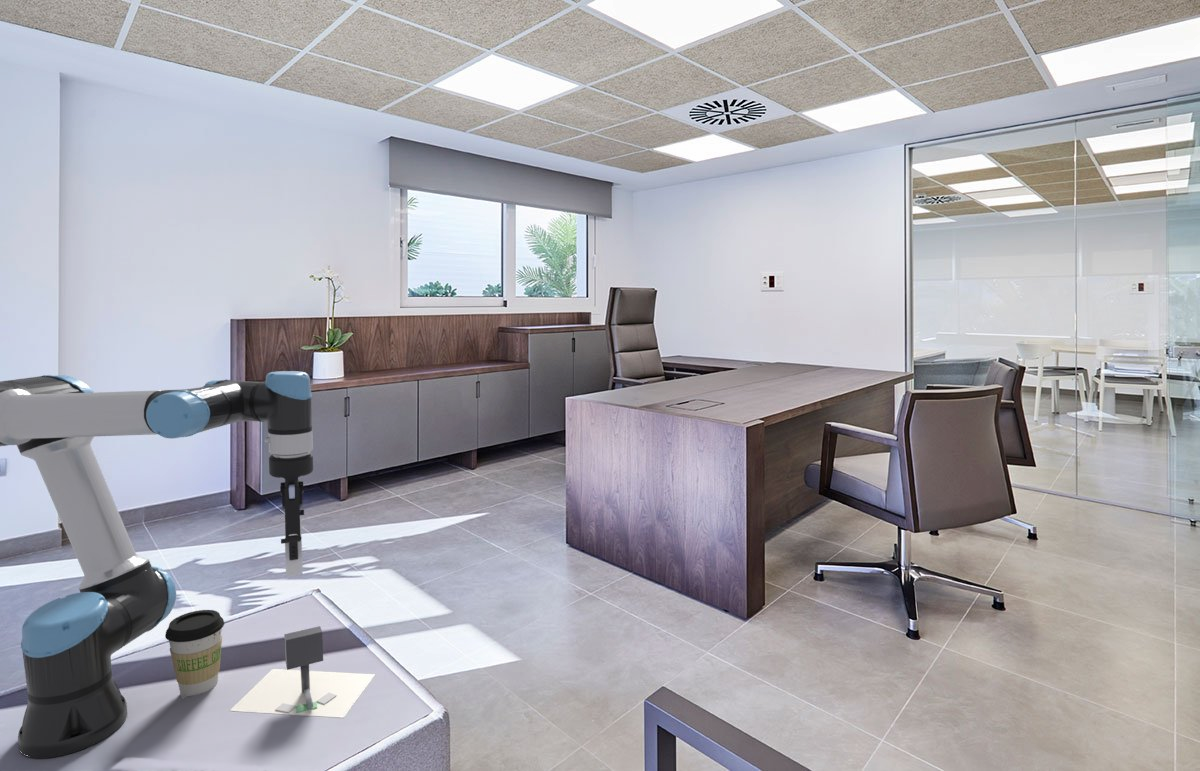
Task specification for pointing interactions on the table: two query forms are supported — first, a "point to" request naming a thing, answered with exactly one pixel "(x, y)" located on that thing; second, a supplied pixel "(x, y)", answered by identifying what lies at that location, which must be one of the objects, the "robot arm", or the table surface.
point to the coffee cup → (196, 650)
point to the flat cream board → (286, 697)
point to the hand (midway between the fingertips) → (294, 561)
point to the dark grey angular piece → (304, 655)
